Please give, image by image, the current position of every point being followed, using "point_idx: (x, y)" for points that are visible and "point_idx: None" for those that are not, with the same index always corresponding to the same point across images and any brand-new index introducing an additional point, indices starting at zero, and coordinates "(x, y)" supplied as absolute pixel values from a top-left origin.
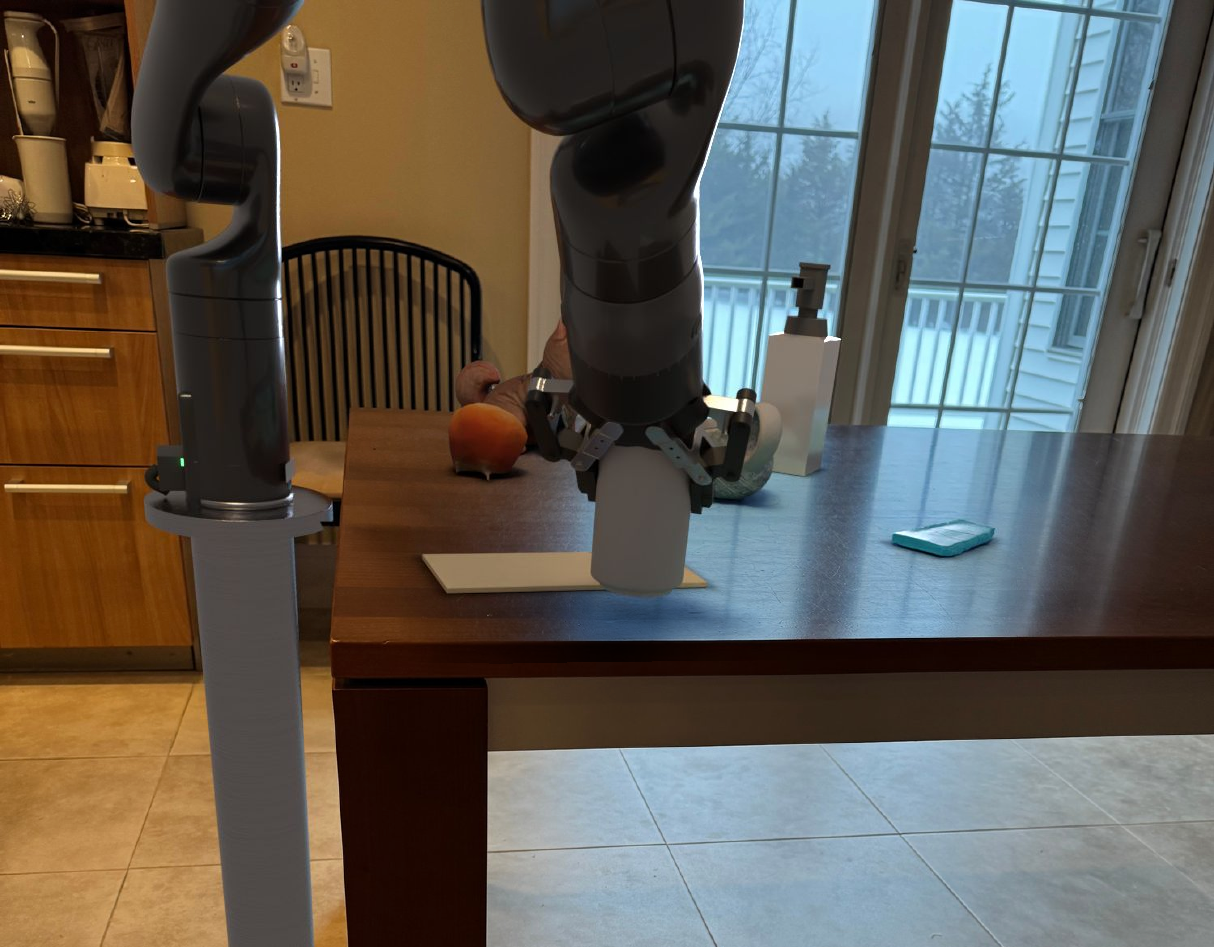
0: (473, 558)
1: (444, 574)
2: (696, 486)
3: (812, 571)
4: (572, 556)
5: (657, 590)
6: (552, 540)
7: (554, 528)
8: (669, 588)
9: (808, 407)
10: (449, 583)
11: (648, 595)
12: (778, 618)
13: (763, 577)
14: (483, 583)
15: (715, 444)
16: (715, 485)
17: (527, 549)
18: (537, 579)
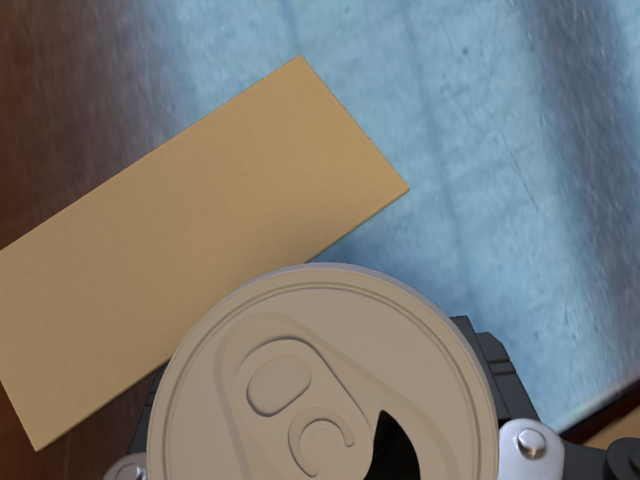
0: (33, 261)
1: (12, 377)
2: None
3: (538, 13)
4: (175, 164)
5: (395, 468)
6: (120, 69)
7: (107, 3)
8: (412, 446)
9: None
10: (32, 422)
11: (377, 460)
12: (557, 295)
13: (476, 86)
14: (82, 393)
15: (563, 457)
16: (504, 350)
17: (97, 138)
18: (156, 322)
